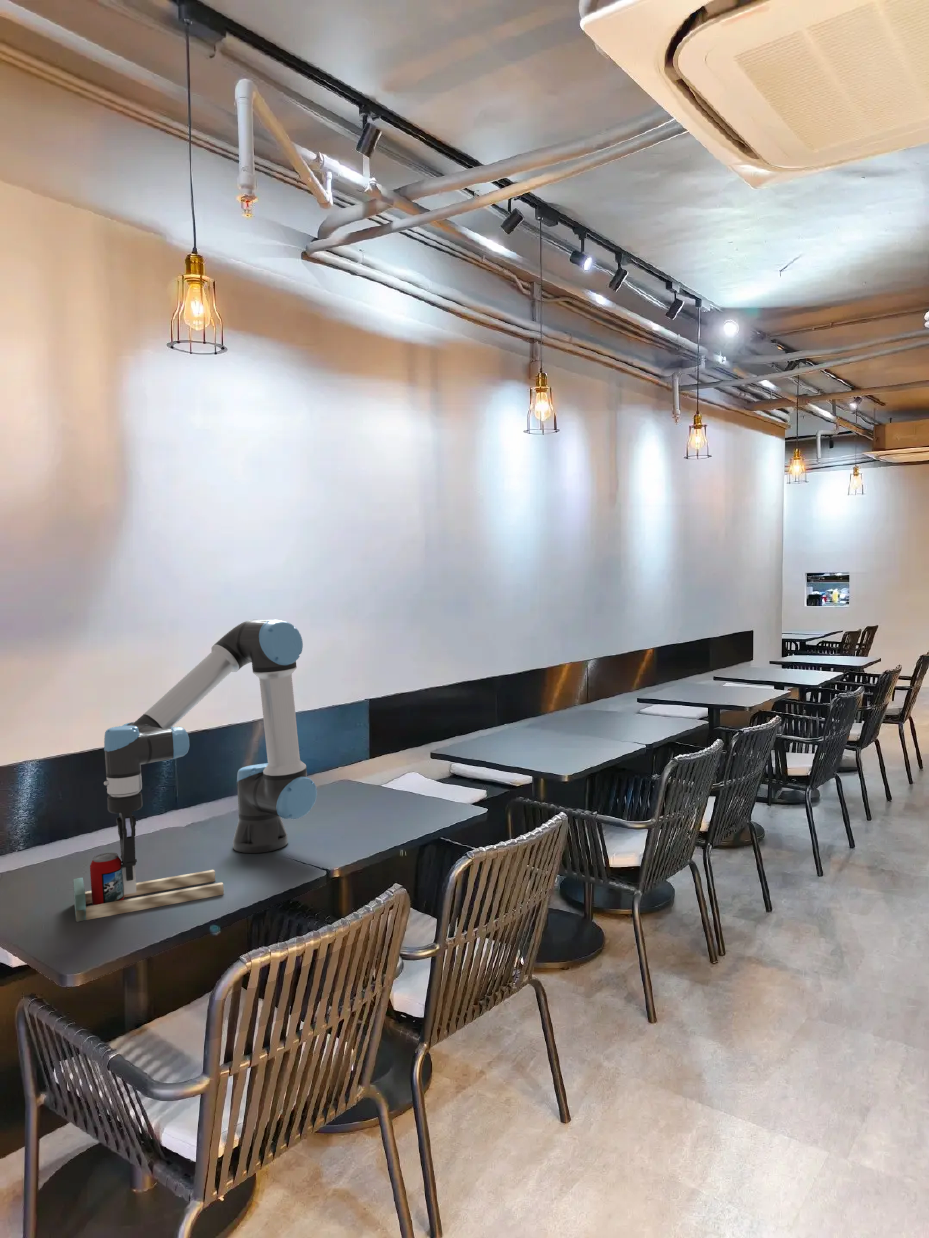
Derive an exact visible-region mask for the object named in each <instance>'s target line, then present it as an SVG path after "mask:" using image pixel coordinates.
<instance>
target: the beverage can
mask: <svg viewBox="0 0 929 1238" xmlns="http://www.w3.org/2000/svg"><path fill="white" fill-rule="evenodd" d="M121 861H122V860H121V857H120V856H119V854H118V853H116V852H105V853H100V854H97V855H96V856H95V855H94V856H93V857H92V860H91V863H90V865H89V874H90V891H91V892H92V903H91V904H92V905H91V906H93V905H98V904H104V903H109V902H115V901H120V900H125V897H124V892H123V876H122V868H121V867H120V866H121V865H122V862H121Z"/></svg>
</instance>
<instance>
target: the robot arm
mask: <svg viewBox="0 0 929 1238" xmlns="http://www.w3.org/2000/svg"><path fill="white" fill-rule="evenodd" d="M303 645H304V644H303V638H302V634H301V633H300V631H299V630H298V628H297V627H296V626H294V624H292V623H290V622H289V621H284V620H279V619H249V620H245V621H242V623H239V624H238V625H236V626H235V627H233V628H232V629H230V630H229V631H228V632H227V633H225V634H224V635H223V636H222V637H221V638H220V639H219V640H217V642H215V643H214V644H213V645H211V652H210V653H209V654H208V655H207V656H205V658H203V659H202V660H201V661H200V662H199V663H198V664H197V665H195V667H193V668H192V669H191V670H190V671H189V672H188V673H187V674H186V675H185V676H184V677H182V678H181V679H180V680H179V681H178V682H177V683H175V685H174V686H173V687H172V688H171V689H169V690H168V691H167V692H166V693H165V694H164V695H163V696H162V697H161V698H159V699H158V700H157V701H156V702H155V703H154V704H152V706H151V707H150V708H148V709H147V711H145V712H143V714H142V715H140V716H139V717H138V718H137V720H135V721H133V722H127V723H125V724H122V725H119V726H118V725H117V726H113V727H110V728H107V729H106V730H105V732H104V739H103V743H104V744H103V751H104V760H105V776H106V780H105V781H104V782H103V785H104V786H106V789H107V790H106V793H107V795H108V796H107V797H106V799H107V800H106V801H107V811H108V813H111V814H118V815H119V816H118V817H116V818H115V819H116V820H115V821H116V826H117V833H118V836H119V847H120V848H119V849H120V859H121V862H122V865H121V866H120V867H121V868H122V876H123V892H124V895H126V894H131V893H136V883H137V879H136V878H137V876H136V864H137V863H138V860H137V858H136V826H137V819H136V817H135V814H133V812H134V811H138V810H141V809H142V807H143V806H144V805H143V793H142V792H141V790H143V782H142V766H141V765H146V764H147V765H148V764H151V763H155V762H162V761H168V760H175V759H178V758H181V757H184V756H186V755H187V754H188V752H189V749H190V737H189V734H188V732H187V731H186V729H185V728H184V727H182V726H175V725H176V724H177V723H179V722H180V721H181V720H182V719H183V718H184V717H185V716H186V715H187V714H188V713H189V712H191V710H192V709H194V708H195V706H196V705H197V704H198V703H200V702H201V701H202V700H203V699H204V698H205V697H206V696H207V695H208V694H209V693H210V692H211V691H212V690H214V689H215V688H216V687H217V686H218V685H219V684H220V683H221V682H222V681H223V680H224V679H225V678H227V676H229V675H230V674H231V673H237V672H238V671H239V670H241V669H242V668H243V667H244V666H245V665H247V664H251V669H252V673H253V674H254V675H256V677H258V679H259V689H260V697H261V699H260V700H261V709H262V716H263V727H264V728H263V729H264V737H265V739H264V740H265V746H266V747H265V748H266V749H265V750H266V756H267V757H266V759H267V762H266V763H265V762H264V763H259V764H258V763H257V764H251V765H247V766H242V767H240V768H239V769H238V771H237V775H236V786H237V788H236V789H237V790H236V791H237V809H238V811H237V812H238V821H237V825H236V828H235V832H234V835H233V838H232V845H233V846H232V847H233V848H232V849H234V850H235V852H239V853H246V854H260V853H261V854H262V853H268V852H272V851H277V850H279V849H282V848H284V847H285V846H287V845H288V842H289V841H288V833H287V830H286V828H285V827H286V826H285V825H284V822H283V820H282V819H284V820H286V819H287V820H288V819H289V820H299V819H301V818H303V817H305V816H306V815H308V814H309V813H310V811H311V810H312V808H313V807H315V803H316V800H317V797H318V788H317V785H316V784H315V781H313V780H312V778H310V777H308V770H307V765H306V763H304V762H303V761H302V760H301V758H300V757H301V755H300V747H299V737H298V727H297V726H298V725H297V716H296V707H295V706H296V705H295V696H294V686H293V673H294V672H295V670H296V669H297V660H299V658H300V655H301V654H302V652H303V647H304V646H303Z"/></svg>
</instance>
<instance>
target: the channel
mask: <svg viewBox="0 0 929 1238" xmlns="http://www.w3.org/2000/svg"><path fill="white" fill-rule="evenodd" d="M72 881H73V882H72V883H73V901H74V902H73V905H74V913H75V921H76V922H78V923H79V922H83V921H89V920H94V919H99V918H104V917H111V916H116V915H119V914H120V915H121V914H125V913H132V912H137V911H142V910H148V909H154V908H158V907H162V906H163V907H164V906H168V905H170V906H171V905H174V904H179V903H185V902H189V901H197V900H200V899H201V900H202V899H207V898H212V897H218V896H224V895H225V894H224V883H223V882H222V881H221V882H216V871H215V869H209V870H203V871H197V872H191V873H187V874H186V873H185V874H180V875H175V876H174V875H173V876H167V877H163V878H158V879H152V880H145V881H140V882H136V893H131V894H126V895H124V898H127V897H128V899H124V900H120V901H115V902H109V903H104V904H98V905H89V904H92V892H91V890H88V891H86V890H85V883H84V878H83V877H78V878H73V879H72ZM212 882H216V883H212ZM207 883H208V884H207ZM209 883H211V884H209ZM201 884H203V885H201ZM204 884H205V885H204ZM195 885H199V886H195ZM189 886H194V887H189ZM184 887H185V888H184ZM186 887H188V888H186ZM178 888H179V889H178ZM180 888H183V889H180ZM174 889H177V890H174ZM167 890H168V891H167ZM169 890H171V891H169ZM162 891H166V892H162ZM156 892H159V893H156ZM151 893H155V894H151ZM144 894H145V896H144ZM146 894H149V895H146ZM139 895H143V896H139ZM135 896H138V897H135ZM129 897H132V898H129ZM87 905H88V906H87Z"/></svg>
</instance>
